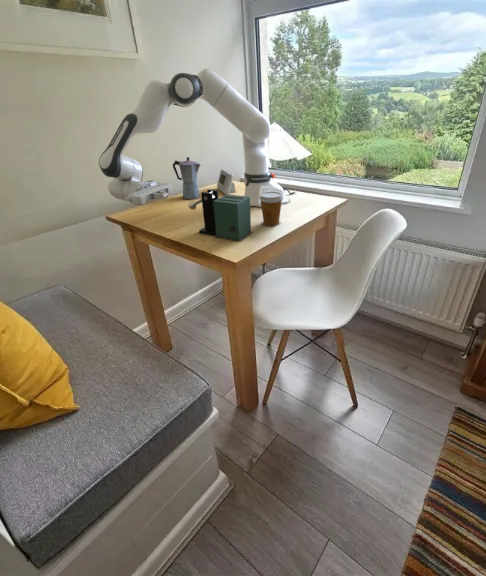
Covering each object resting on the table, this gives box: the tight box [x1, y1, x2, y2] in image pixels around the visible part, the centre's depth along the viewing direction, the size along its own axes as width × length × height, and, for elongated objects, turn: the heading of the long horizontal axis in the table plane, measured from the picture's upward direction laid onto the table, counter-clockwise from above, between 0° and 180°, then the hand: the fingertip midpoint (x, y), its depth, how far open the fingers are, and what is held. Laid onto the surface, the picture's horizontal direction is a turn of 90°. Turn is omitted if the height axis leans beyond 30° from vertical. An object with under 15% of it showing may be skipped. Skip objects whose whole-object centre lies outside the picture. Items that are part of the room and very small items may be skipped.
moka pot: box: [172, 156, 202, 200], centre depth 165 cm, size 10×15×20 cm, turn 78°
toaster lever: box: [187, 191, 215, 211], centre depth 125 cm, size 13×3×3 cm, turn 63°
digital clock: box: [216, 168, 236, 195], centre depth 176 cm, size 16×9×11 cm, turn 11°
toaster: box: [213, 193, 252, 242], centre depth 121 cm, size 10×10×14 cm
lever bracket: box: [199, 188, 220, 237], centre depth 125 cm, size 8×8×16 cm
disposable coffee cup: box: [259, 192, 283, 227], centre depth 132 cm, size 10×10×12 cm
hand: (166, 195), depth 131 cm, fingers closed
